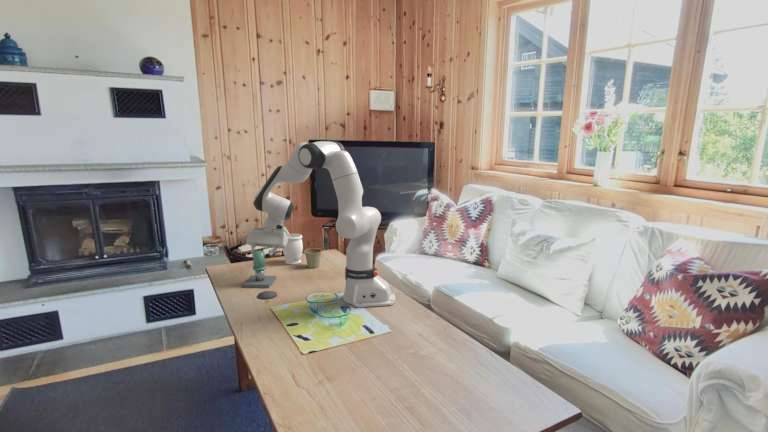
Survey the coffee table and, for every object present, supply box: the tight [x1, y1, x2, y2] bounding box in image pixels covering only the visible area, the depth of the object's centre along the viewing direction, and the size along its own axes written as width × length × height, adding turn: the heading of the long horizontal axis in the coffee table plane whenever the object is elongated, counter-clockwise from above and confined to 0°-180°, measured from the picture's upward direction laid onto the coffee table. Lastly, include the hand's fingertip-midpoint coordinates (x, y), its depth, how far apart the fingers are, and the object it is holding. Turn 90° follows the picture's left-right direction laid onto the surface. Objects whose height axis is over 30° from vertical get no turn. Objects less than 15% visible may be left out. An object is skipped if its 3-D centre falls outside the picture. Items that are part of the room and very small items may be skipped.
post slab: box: [242, 274, 277, 289], centre depth 195 cm, size 12×12×2 cm
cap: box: [252, 250, 267, 272], centre depth 193 cm, size 6×6×8 cm
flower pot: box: [303, 247, 323, 269], centre depth 220 cm, size 9×9×9 cm
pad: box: [257, 290, 278, 300], centre depth 181 cm, size 8×8×1 cm
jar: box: [282, 233, 304, 266], centre depth 225 cm, size 11×10×15 cm
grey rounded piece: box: [254, 270, 265, 281], centre depth 195 cm, size 4×6×6 cm, turn 179°
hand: (261, 253), depth 195 cm, fingers open, 8 cm apart
